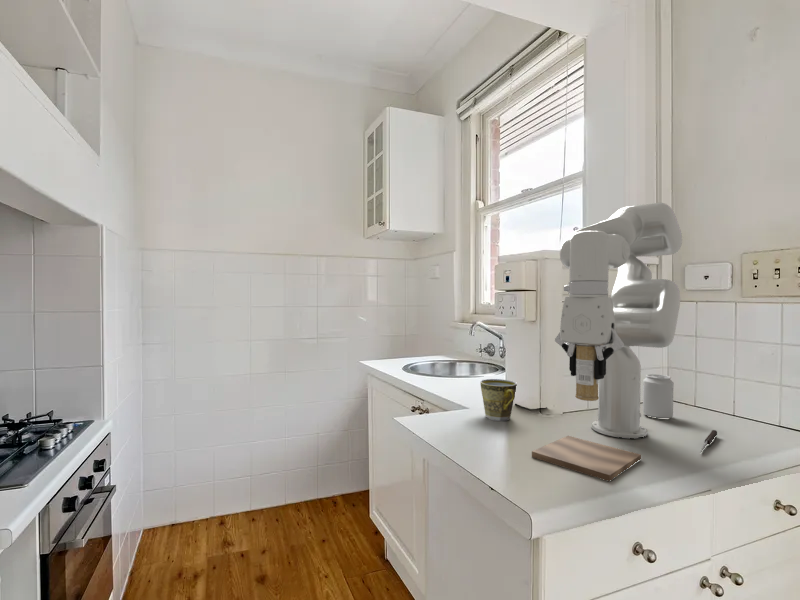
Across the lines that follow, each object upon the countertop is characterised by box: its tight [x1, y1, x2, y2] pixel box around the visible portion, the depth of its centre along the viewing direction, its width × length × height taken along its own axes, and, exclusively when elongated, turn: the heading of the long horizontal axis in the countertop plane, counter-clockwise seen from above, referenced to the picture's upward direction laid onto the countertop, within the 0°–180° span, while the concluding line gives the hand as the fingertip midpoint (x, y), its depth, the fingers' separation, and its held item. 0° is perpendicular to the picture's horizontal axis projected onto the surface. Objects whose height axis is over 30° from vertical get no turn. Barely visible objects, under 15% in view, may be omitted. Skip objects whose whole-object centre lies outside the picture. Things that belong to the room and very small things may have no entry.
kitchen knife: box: [699, 429, 718, 453], centre depth 99 cm, size 18×1×2 cm, turn 136°
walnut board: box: [531, 435, 642, 482], centre depth 90 cm, size 16×16×1 cm
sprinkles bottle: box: [575, 344, 599, 402], centre depth 90 cm, size 5×5×14 cm
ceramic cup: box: [480, 378, 517, 422], centre depth 119 cm, size 13×10×10 cm
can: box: [642, 373, 675, 419], centre depth 123 cm, size 8×8×12 cm
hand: (587, 376), depth 90 cm, fingers closed on sprinkles bottle, 4 cm apart
